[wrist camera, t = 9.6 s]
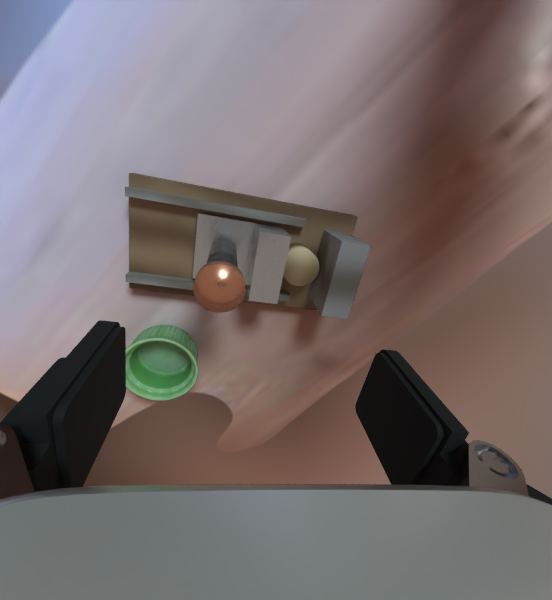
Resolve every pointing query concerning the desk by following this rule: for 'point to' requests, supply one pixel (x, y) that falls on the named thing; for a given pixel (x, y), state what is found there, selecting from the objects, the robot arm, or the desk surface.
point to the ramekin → (161, 363)
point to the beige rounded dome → (300, 265)
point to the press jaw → (237, 262)
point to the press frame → (293, 218)
